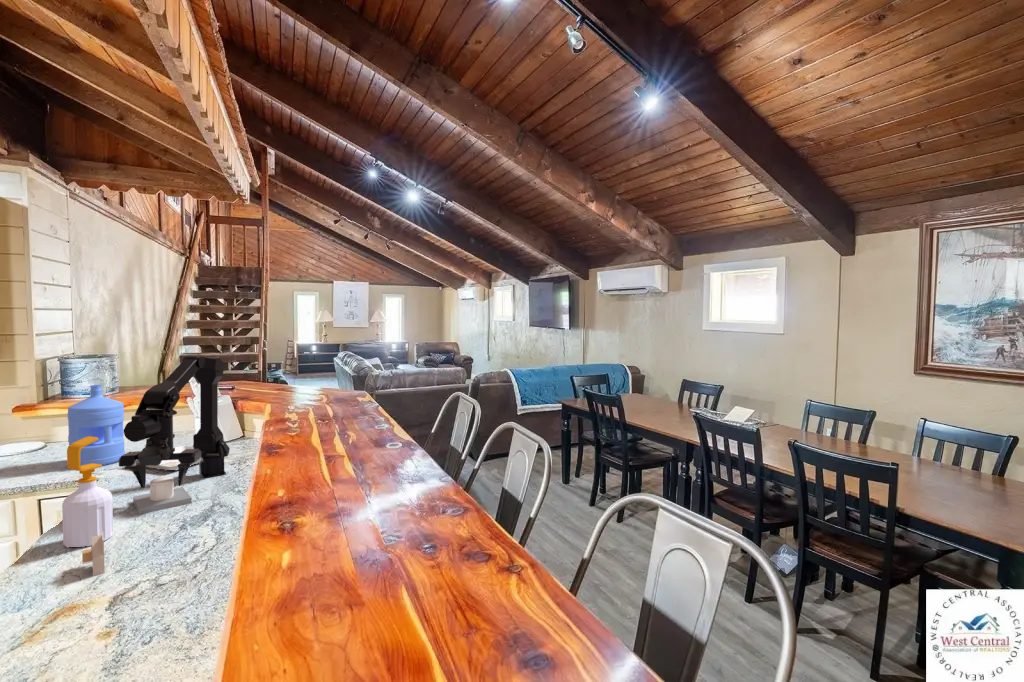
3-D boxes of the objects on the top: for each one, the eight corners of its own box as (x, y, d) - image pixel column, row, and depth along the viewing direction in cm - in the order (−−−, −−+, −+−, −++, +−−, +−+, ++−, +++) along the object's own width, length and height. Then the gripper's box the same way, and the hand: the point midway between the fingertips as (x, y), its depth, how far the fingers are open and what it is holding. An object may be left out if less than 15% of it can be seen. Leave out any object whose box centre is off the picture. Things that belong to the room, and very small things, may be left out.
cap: (159, 501, 138) (159, 484, 137) (145, 499, 139) (145, 481, 139) (178, 495, 143) (177, 478, 143) (164, 492, 144) (164, 476, 144)
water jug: (58, 465, 174) (56, 386, 173) (109, 453, 189) (107, 381, 187) (85, 470, 168) (82, 389, 167) (135, 458, 183) (133, 384, 182)
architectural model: (82, 581, 100) (82, 545, 100) (82, 567, 105) (81, 533, 105) (104, 575, 102) (103, 540, 102) (103, 562, 108) (102, 529, 107)
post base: (182, 491, 150) (182, 474, 149) (191, 502, 141) (191, 484, 141) (133, 501, 141) (132, 482, 141) (139, 514, 133) (139, 494, 132)
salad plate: (171, 475, 165) (170, 465, 165) (126, 468, 172) (126, 459, 172) (225, 459, 186) (225, 450, 185) (183, 453, 192) (183, 444, 192)
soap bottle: (122, 535, 120) (120, 435, 119) (79, 551, 111) (76, 444, 110) (97, 529, 123) (95, 432, 122) (53, 545, 114) (50, 440, 113)
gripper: (106, 441, 130) (108, 499, 131) (186, 438, 134) (187, 494, 135) (128, 431, 141) (129, 485, 141) (201, 429, 145) (202, 481, 146)
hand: (161, 486), depth 141 cm, fingers open, 9 cm apart
